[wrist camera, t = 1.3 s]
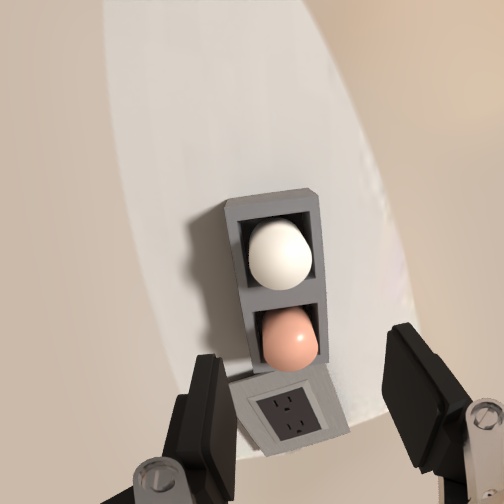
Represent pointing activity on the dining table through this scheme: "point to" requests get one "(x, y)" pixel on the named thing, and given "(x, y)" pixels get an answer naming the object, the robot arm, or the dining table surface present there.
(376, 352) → the dining table surface
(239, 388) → the electrical outlet
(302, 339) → the pink button
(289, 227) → the white button
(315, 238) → the button console
